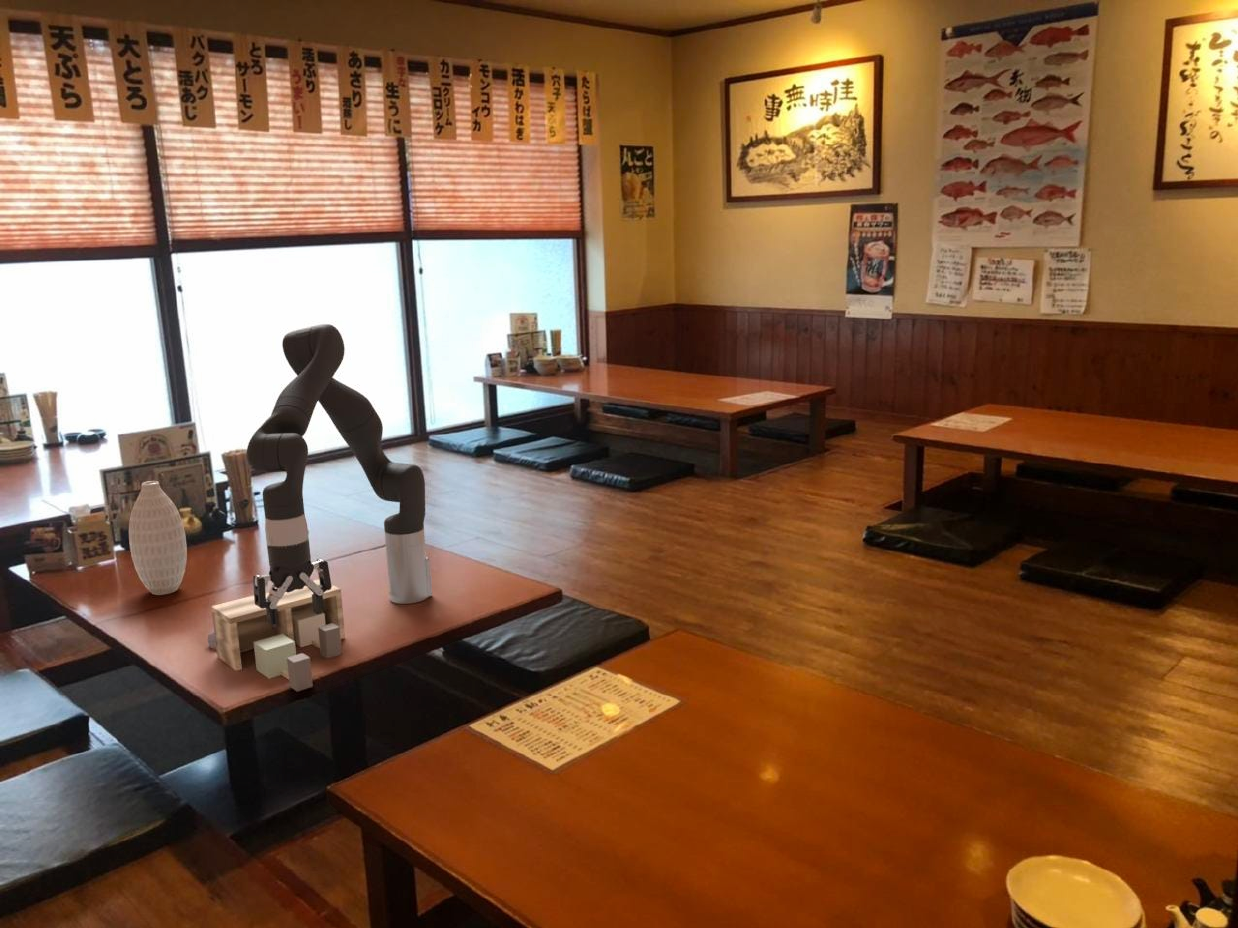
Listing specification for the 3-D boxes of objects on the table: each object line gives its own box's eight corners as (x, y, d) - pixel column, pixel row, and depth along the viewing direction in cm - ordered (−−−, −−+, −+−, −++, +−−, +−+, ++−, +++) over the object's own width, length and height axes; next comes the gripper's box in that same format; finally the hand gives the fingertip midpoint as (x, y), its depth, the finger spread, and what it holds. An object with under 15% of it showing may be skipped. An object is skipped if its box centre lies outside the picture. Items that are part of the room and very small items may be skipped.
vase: (193, 580, 256) (180, 474, 250) (189, 595, 245) (175, 485, 238) (140, 586, 253) (125, 479, 246) (133, 602, 241) (117, 490, 235)
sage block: (256, 669, 200) (253, 641, 198) (285, 661, 204) (282, 633, 202) (290, 693, 188) (286, 664, 187) (319, 684, 192) (316, 655, 191)
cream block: (288, 639, 215) (286, 613, 214) (314, 632, 219) (312, 606, 217) (321, 660, 203) (318, 633, 202) (348, 651, 207) (345, 625, 206)
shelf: (217, 656, 207) (211, 606, 204) (324, 625, 222) (319, 578, 220) (235, 670, 199) (229, 618, 197) (345, 637, 215) (340, 588, 213)
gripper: (314, 526, 192) (322, 604, 195) (242, 542, 183) (252, 624, 186) (332, 533, 186) (340, 614, 190) (258, 551, 177) (268, 635, 181)
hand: (296, 619), depth 188 cm, fingers open, 8 cm apart
